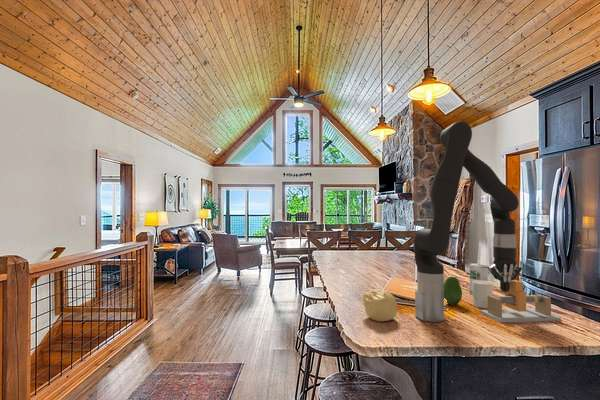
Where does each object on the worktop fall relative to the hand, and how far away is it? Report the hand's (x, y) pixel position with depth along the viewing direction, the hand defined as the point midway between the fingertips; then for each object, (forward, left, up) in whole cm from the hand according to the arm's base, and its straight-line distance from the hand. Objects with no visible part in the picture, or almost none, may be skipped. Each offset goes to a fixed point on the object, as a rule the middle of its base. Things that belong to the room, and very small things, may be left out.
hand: (505, 291), depth 124 cm
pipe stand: (+6, 0, -10) cm, 11 cm away
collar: (+4, 0, -7) cm, 8 cm away
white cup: (+1, +14, -10) cm, 17 cm away
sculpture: (-48, +2, -10) cm, 49 cm away
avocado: (-11, +17, -10) cm, 23 cm away
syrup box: (+11, +31, -10) cm, 34 cm away
